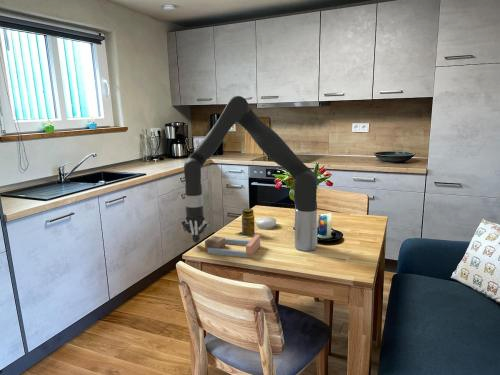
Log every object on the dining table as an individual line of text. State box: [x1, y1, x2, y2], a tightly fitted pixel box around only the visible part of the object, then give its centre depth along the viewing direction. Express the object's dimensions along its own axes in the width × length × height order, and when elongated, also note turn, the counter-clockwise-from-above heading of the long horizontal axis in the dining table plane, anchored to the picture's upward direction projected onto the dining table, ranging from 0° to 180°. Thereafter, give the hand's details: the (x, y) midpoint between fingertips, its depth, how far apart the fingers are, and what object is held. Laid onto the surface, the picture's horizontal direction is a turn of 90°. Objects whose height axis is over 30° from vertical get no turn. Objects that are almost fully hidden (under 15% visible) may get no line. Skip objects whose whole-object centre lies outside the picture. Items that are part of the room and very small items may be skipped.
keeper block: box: [204, 235, 226, 251], centre depth 163 cm, size 6×7×4 cm
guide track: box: [207, 234, 261, 259], centre depth 160 cm, size 19×14×5 cm
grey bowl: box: [255, 216, 277, 230], centre depth 190 cm, size 10×10×3 cm
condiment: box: [235, 208, 258, 239], centre depth 178 cm, size 7×8×12 cm
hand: (196, 242), depth 166 cm, fingers closed
